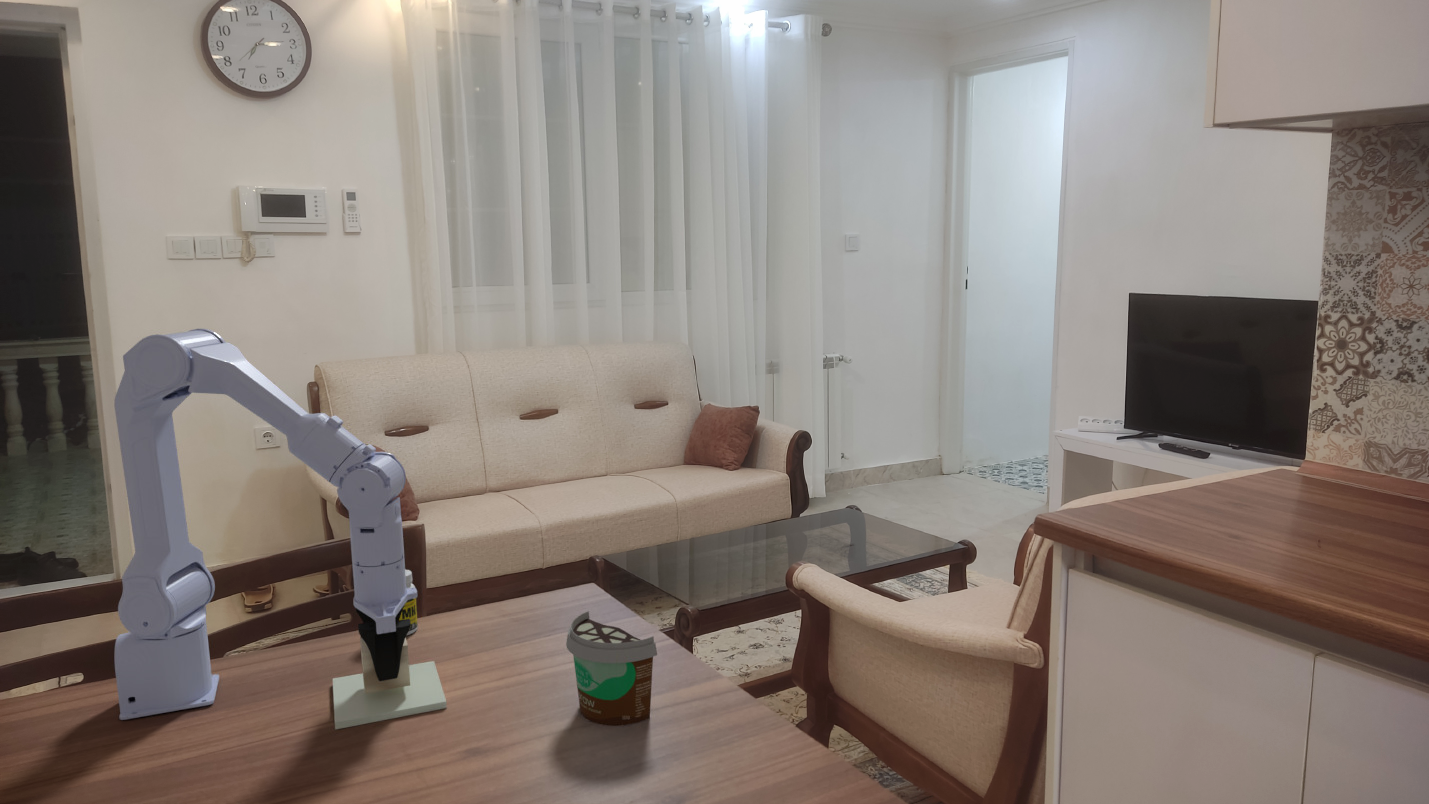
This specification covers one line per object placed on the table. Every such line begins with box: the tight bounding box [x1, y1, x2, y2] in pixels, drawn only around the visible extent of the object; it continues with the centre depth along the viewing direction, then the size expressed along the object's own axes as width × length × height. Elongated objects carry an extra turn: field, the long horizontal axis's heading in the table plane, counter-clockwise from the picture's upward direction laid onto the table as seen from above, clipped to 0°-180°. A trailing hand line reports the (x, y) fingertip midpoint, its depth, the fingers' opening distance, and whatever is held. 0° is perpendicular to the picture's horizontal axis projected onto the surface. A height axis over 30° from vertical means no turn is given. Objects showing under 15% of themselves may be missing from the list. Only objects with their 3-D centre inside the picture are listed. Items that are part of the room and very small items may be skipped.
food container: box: [565, 610, 658, 727], centre depth 105 cm, size 12×6×10 cm, turn 47°
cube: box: [359, 636, 410, 694], centre depth 110 cm, size 5×5×5 cm
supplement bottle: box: [399, 569, 419, 637], centre depth 129 cm, size 5×5×8 cm
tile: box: [332, 660, 448, 730], centre depth 111 cm, size 12×12×1 cm
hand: (386, 669), depth 110 cm, fingers closed on cube, 5 cm apart
